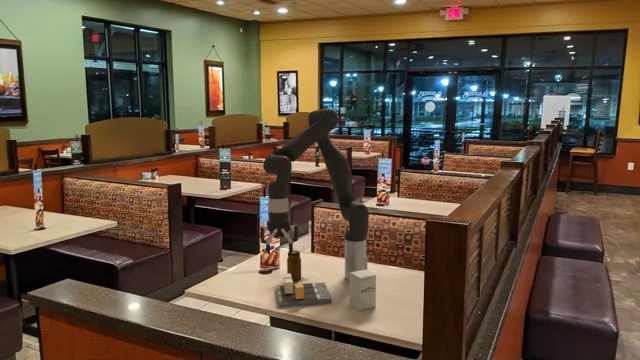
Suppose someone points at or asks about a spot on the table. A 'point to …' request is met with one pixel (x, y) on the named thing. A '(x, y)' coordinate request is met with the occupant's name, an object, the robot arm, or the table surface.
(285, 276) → the block
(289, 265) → the condiment
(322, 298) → the panel
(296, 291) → the block
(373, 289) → the supplement box
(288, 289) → the block
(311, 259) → the table surface
